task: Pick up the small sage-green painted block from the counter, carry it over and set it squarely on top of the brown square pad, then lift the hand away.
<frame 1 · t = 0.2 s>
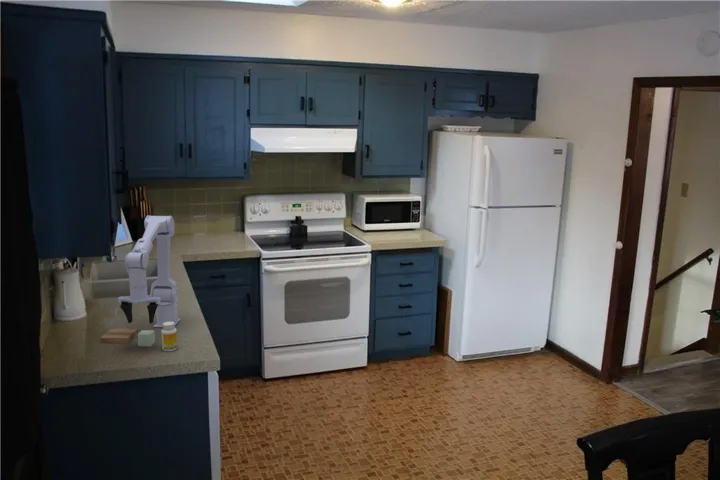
hand: (140, 322, 222), 10 cm above the worktop, tool pointing down, fingers open, 7 cm apart
sage block: (146, 344, 228), on the worktop
supplement bottle: (169, 349, 223), on the worktop
brown square pad: (120, 339, 233), on the worktop
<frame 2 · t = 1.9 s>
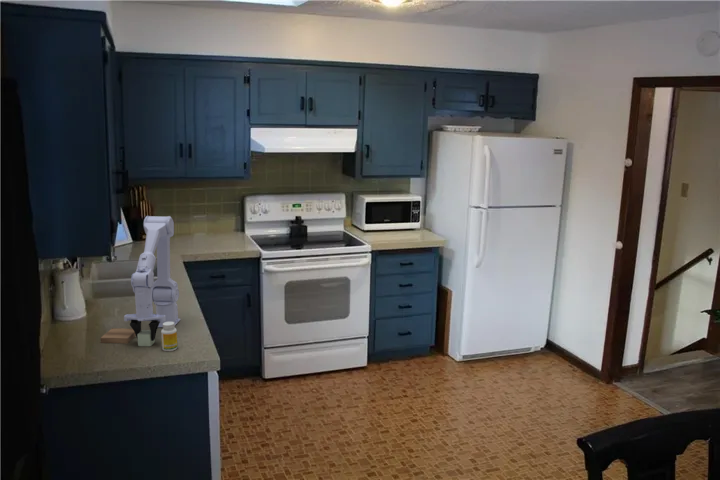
hand: (146, 339, 227), 2 cm above the worktop, tool pointing down, fingers closed on sage block, 4 cm apart
sage block: (146, 343, 227), on the worktop, touching gripper
everything else where it was.
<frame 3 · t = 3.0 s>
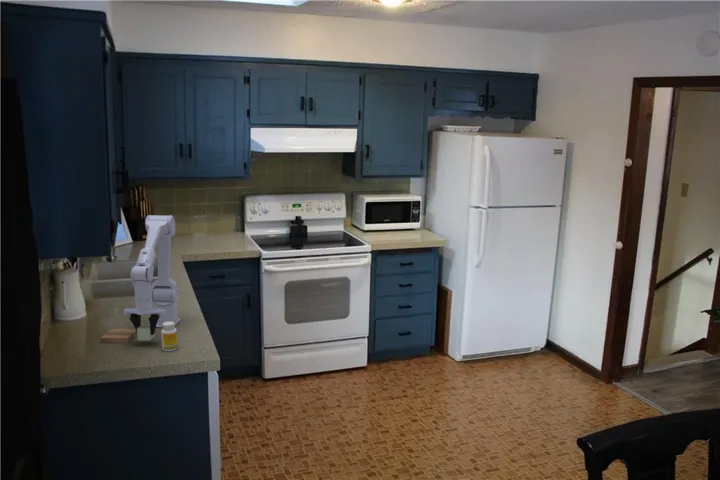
hand: (146, 333, 227), 4 cm above the worktop, tool pointing down, fingers closed on sage block, 4 cm apart
sage block: (146, 338, 227), point 2 cm above the worktop, touching gripper
everything else where it was.
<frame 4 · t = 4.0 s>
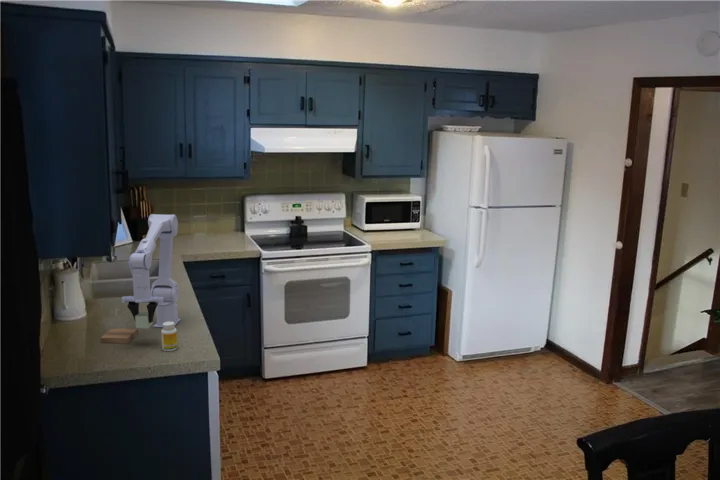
hand: (144, 321, 226), 8 cm above the worktop, tool pointing down, fingers closed on sage block, 4 cm apart
sage block: (144, 326, 226), point 7 cm above the worktop, touching gripper
everything else where it was.
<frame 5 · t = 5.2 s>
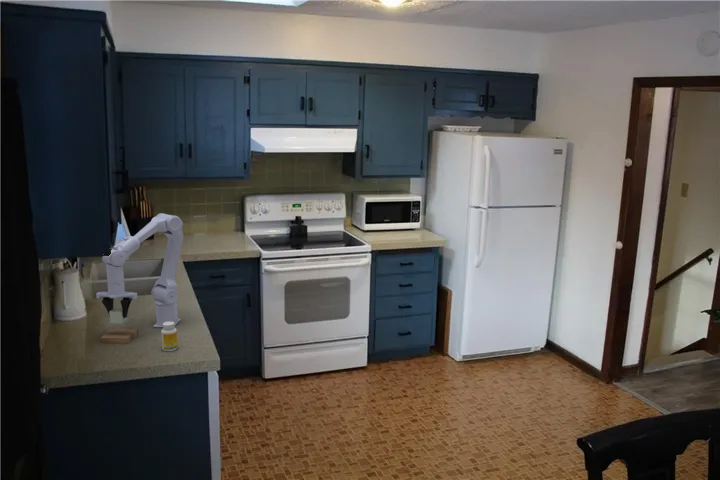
hand: (118, 316, 231), 8 cm above the worktop, tool pointing down, fingers closed on sage block, 4 cm apart
sage block: (118, 321, 231), point 7 cm above the worktop, touching gripper
everything else where it was.
when the fingers open (5 cm above the worktop, at t = 6.3 s): sage block drops 2 cm, resting on brown square pad.
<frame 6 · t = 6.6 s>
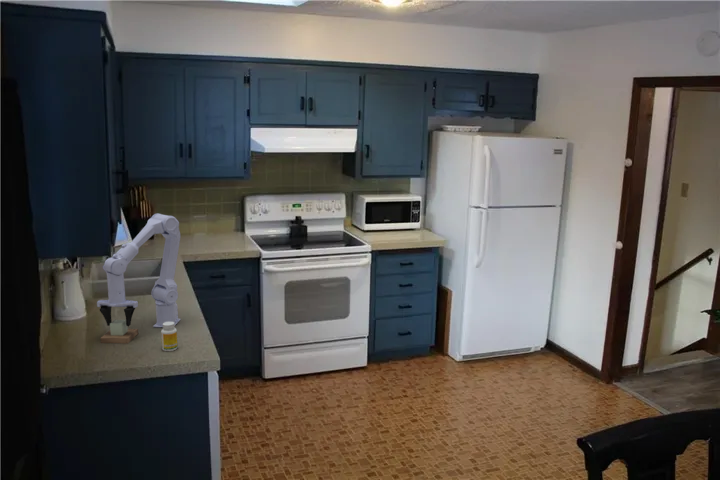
hand: (119, 325, 232), 5 cm above the worktop, tool pointing down, fingers open, 7 cm apart
sage block: (119, 333, 232), point 2 cm above the worktop, touching brown square pad
brown square pad: (120, 339, 233), on the worktop, touching sage block
everything else where it was.
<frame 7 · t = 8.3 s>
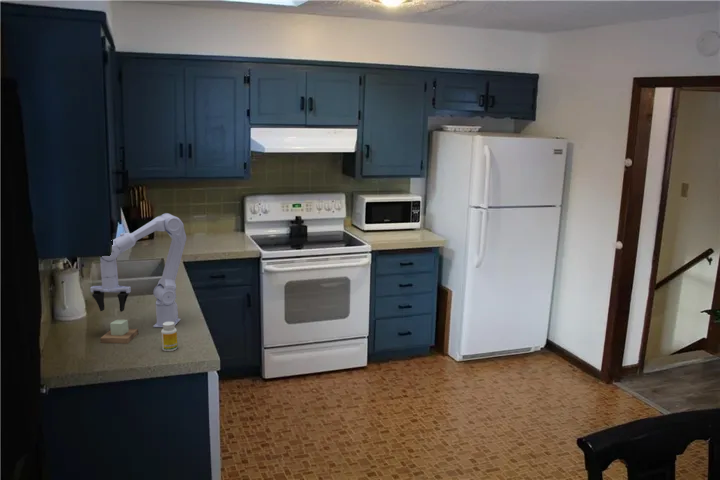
hand: (112, 310, 235), 9 cm above the worktop, tool pointing down, fingers open, 7 cm apart
nothing on the worktop moved.
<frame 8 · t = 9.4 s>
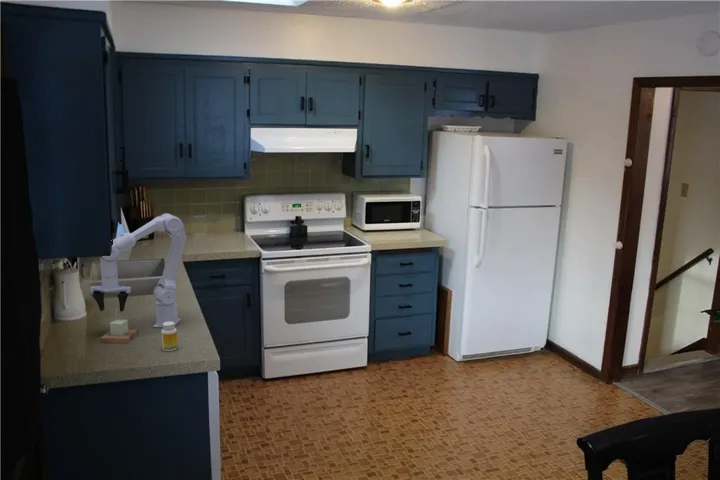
hand: (112, 310, 235), 9 cm above the worktop, tool pointing down, fingers open, 7 cm apart
sage block: (119, 333, 233), point 2 cm above the worktop
brown square pad: (120, 339, 233), on the worktop
everything else where it was.
at the end: sage block 0.3 cm off-centre on the brown square pad, point 2.5 cm above the brown square pad's base; sage block tilted 0°; sage block touching brown square pad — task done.
